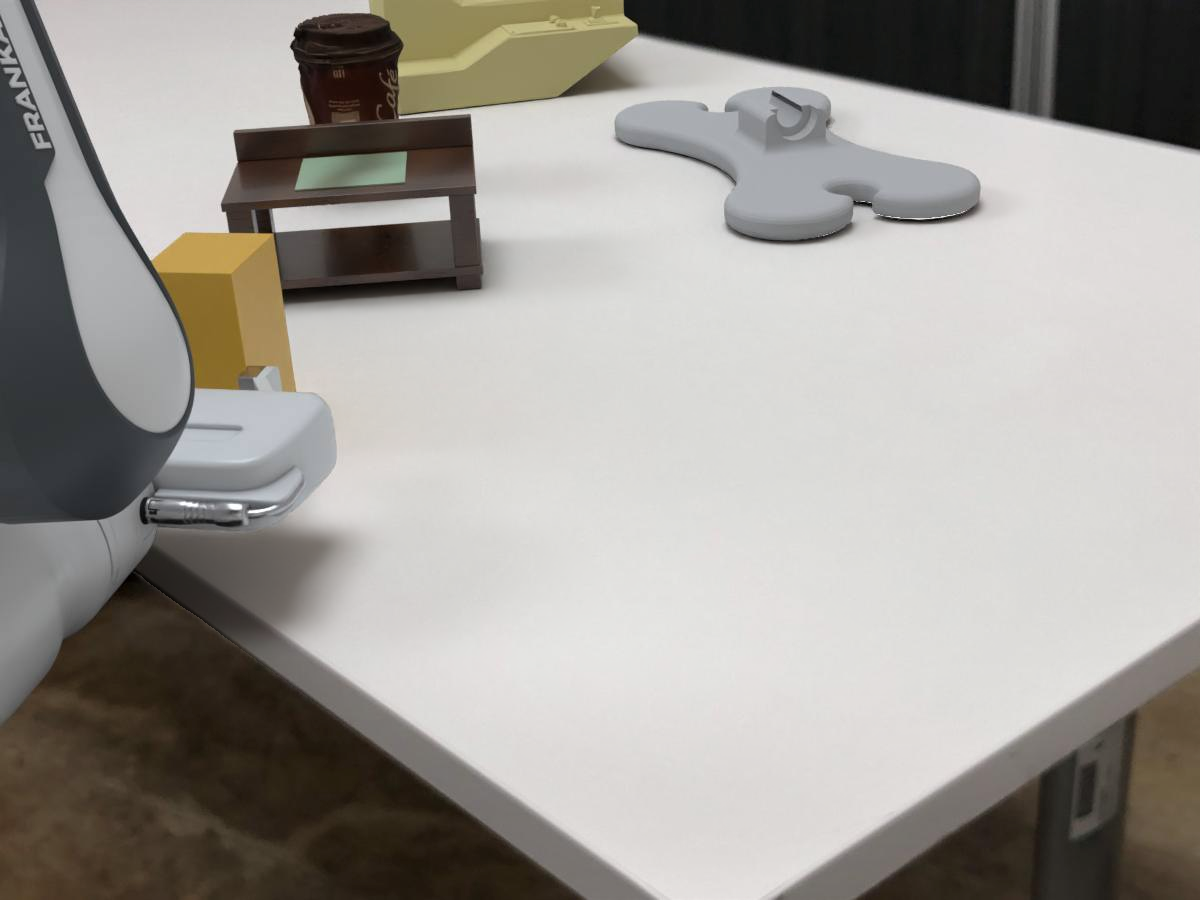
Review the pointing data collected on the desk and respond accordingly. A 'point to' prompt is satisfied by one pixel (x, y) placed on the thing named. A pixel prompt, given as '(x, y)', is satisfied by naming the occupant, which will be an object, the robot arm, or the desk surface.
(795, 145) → the holder
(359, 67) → the coffee cup
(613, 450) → the desk surface
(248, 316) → the block
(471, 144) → the rack
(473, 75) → the control panel
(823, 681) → the desk surface
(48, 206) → the robot arm
